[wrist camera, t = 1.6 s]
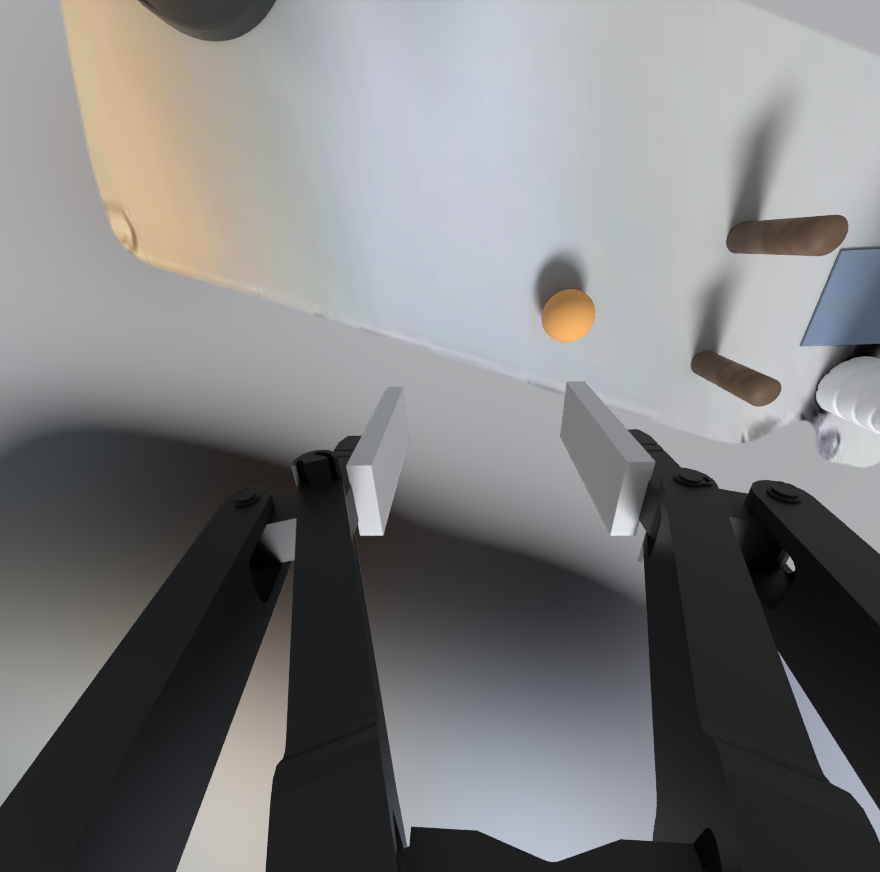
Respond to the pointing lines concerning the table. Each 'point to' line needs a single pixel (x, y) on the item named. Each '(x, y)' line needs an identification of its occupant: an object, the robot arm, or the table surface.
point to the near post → (789, 236)
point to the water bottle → (853, 392)
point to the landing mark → (848, 302)
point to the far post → (736, 378)
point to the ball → (568, 315)
